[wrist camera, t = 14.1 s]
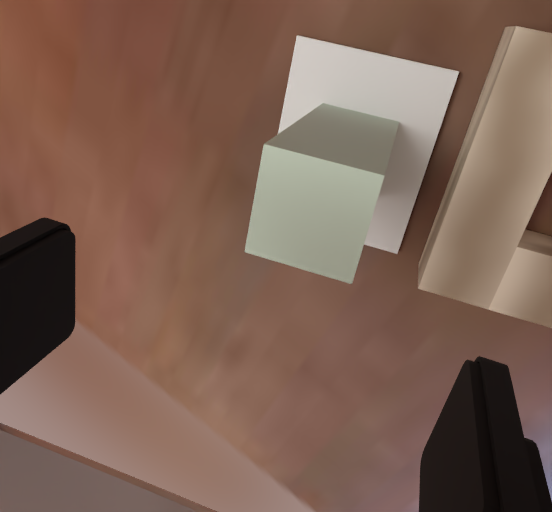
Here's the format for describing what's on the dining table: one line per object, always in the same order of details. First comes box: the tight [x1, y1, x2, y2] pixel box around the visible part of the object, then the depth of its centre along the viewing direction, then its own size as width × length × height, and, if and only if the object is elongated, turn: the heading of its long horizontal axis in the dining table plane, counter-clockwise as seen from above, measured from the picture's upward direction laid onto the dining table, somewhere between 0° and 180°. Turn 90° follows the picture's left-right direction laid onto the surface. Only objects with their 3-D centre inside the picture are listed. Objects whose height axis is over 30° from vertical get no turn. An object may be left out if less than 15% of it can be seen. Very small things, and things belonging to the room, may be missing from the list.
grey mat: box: [278, 35, 459, 254], centre depth 30 cm, size 9×11×1 cm
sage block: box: [245, 103, 399, 284], centre depth 24 cm, size 4×4×12 cm
